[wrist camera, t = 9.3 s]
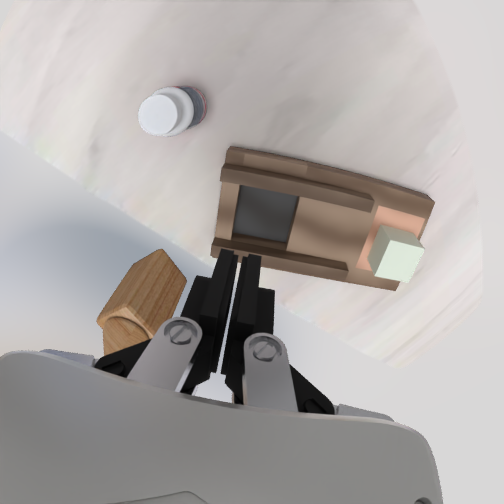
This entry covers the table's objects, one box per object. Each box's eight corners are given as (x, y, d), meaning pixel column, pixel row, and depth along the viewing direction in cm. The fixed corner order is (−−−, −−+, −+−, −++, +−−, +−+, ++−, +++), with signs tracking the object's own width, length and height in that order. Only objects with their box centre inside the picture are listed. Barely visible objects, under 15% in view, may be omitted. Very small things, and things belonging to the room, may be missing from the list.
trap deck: (230, 146, 34) (223, 154, 30) (427, 195, 34) (441, 208, 31) (215, 247, 41) (209, 265, 37) (390, 280, 42) (399, 299, 38)
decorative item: (158, 294, 47) (110, 397, 30) (132, 263, 44) (68, 361, 27) (189, 279, 44) (145, 391, 27) (162, 245, 42) (99, 351, 25)
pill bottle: (194, 78, 30) (168, 76, 22) (215, 115, 32) (195, 124, 25) (157, 100, 32) (122, 107, 24) (177, 136, 34) (148, 152, 26)
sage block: (380, 224, 35) (390, 240, 31) (413, 233, 35) (424, 248, 31) (366, 258, 37) (374, 276, 34) (398, 265, 37) (408, 282, 34)
